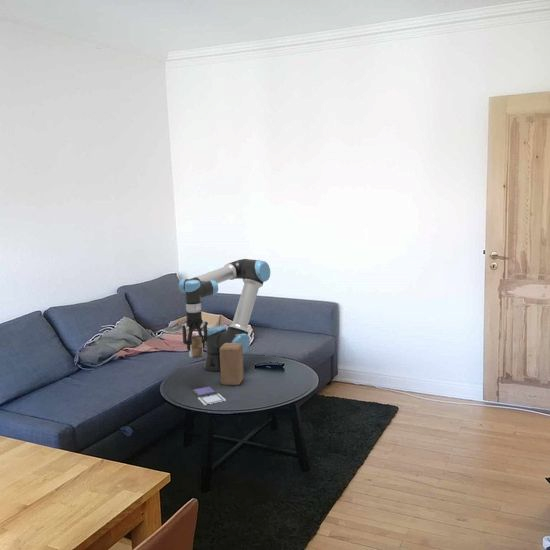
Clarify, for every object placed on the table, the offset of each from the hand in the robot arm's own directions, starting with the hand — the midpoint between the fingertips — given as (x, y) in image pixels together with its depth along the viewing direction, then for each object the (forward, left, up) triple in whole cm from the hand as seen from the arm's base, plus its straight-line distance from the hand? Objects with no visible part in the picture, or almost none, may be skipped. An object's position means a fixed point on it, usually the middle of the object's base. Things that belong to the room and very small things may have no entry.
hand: (196, 355), depth 294 cm
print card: (0, +20, -17) cm, 26 cm away
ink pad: (0, +10, -17) cm, 19 cm away
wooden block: (-18, +3, -17) cm, 25 cm away
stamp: (0, 0, 0) cm, 0 cm away
